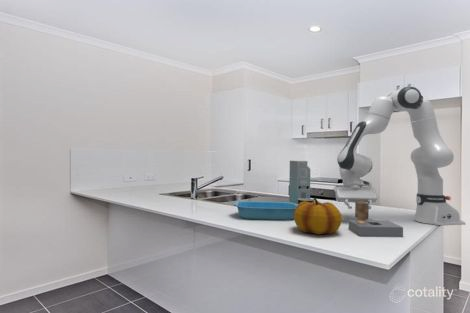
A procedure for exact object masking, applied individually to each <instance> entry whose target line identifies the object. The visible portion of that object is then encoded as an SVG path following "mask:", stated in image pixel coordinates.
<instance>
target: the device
mask: <svg viewBox="0 0 470 313" xmlns="http://www.w3.org/2000/svg"><path fill="white" fill-rule="evenodd" d="M308 162H309V161H308V160H289V179H288V180H289V183H288V184H289V186H288V189H289V191H288V196H289V197H288V198H289V199H288V202H289V203H295V204H298V199H299V198H308V199H311V167H310V166H308Z"/></svg>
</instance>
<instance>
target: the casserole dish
mask: <svg viewBox="0 0 470 313" xmlns="http://www.w3.org/2000/svg"><path fill="white" fill-rule="evenodd" d="M232 205H233V206H235V207H237V211H238V214H239V216H240V217H241V218H242V219H244V220H245V219H246V220H263V221H264V220H265V221H266V220H271V221H290V220H291V221H292V220H294V210H295V208H296V207H297V205H298V204H295V203H289V201H287V202H286V201H264V200H262V201H259V200H258V201H256V200H255V201H254V200H242V201H237V202H233V204H232Z"/></svg>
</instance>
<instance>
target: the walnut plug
mask: <svg viewBox="0 0 470 313" xmlns="http://www.w3.org/2000/svg"><path fill="white" fill-rule="evenodd" d="M354 204H355V207H354V208H355V210H354V212H355V213H354V214H355V216H354V217H355V218H356V220H369V210H370V209H369V204H368V203H367V202H354Z"/></svg>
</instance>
